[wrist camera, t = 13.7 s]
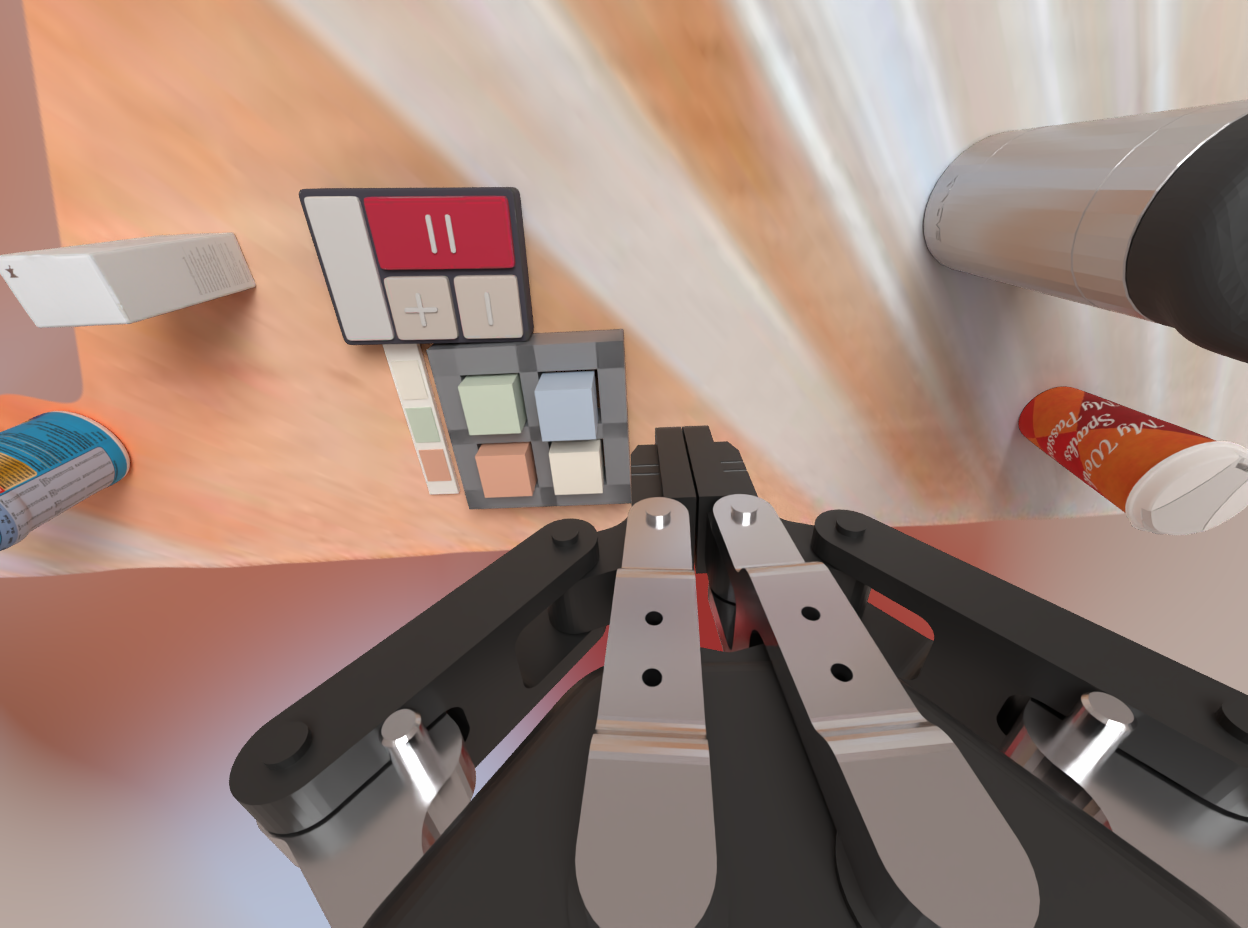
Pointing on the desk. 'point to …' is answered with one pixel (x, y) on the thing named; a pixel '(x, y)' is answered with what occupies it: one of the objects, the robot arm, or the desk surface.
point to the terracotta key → (507, 469)
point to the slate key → (567, 406)
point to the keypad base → (531, 362)
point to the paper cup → (1140, 461)
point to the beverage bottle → (53, 469)
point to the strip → (422, 416)
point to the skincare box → (125, 278)
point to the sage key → (493, 403)
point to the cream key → (577, 466)
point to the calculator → (423, 263)
